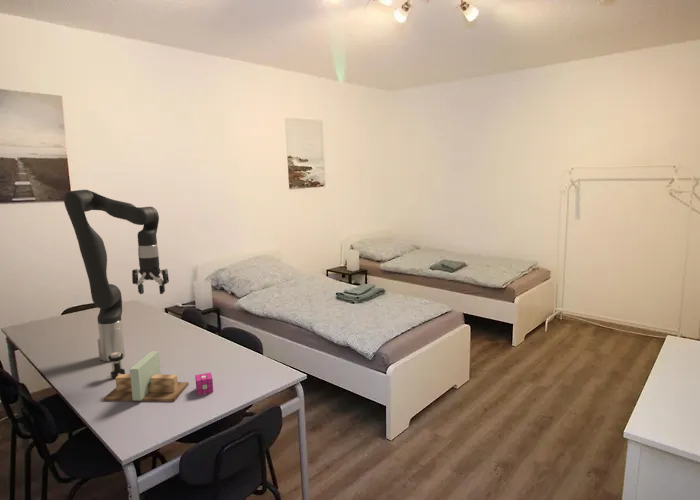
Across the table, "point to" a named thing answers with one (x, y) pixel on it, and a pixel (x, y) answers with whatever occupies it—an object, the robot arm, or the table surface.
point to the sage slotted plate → (144, 374)
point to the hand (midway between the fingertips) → (151, 293)
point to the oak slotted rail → (158, 389)
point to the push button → (116, 364)
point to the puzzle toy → (204, 383)
